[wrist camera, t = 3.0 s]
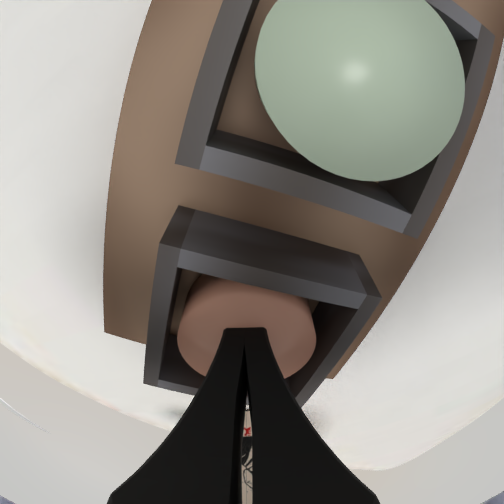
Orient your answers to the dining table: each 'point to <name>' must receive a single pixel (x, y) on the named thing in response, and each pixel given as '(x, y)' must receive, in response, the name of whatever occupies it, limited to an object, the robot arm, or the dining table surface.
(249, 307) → the button terracotta
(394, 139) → the button sage
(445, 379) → the dining table surface
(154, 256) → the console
